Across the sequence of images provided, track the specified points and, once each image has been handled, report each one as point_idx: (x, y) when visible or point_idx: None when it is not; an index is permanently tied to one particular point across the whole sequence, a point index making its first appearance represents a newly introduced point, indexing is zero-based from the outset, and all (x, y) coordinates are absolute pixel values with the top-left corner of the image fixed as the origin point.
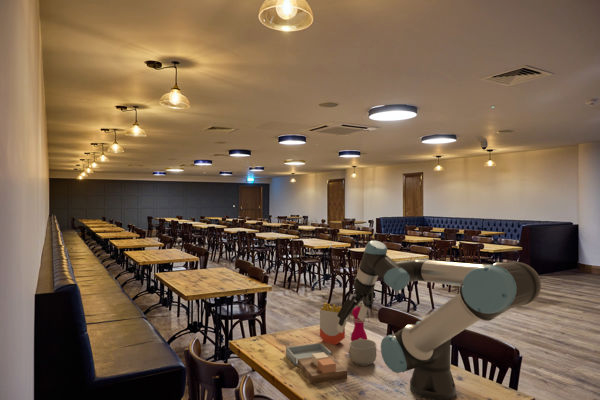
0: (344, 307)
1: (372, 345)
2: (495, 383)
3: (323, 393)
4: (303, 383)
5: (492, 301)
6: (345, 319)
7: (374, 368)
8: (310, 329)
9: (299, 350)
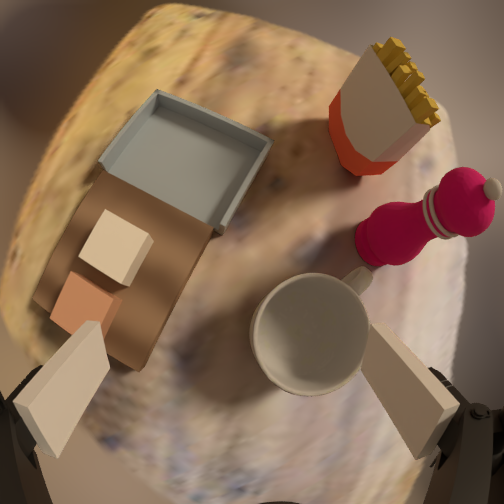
0: None
1: (356, 345)
2: None
3: (32, 359)
4: (36, 275)
5: None
6: (41, 444)
7: None
8: None
9: (193, 117)
